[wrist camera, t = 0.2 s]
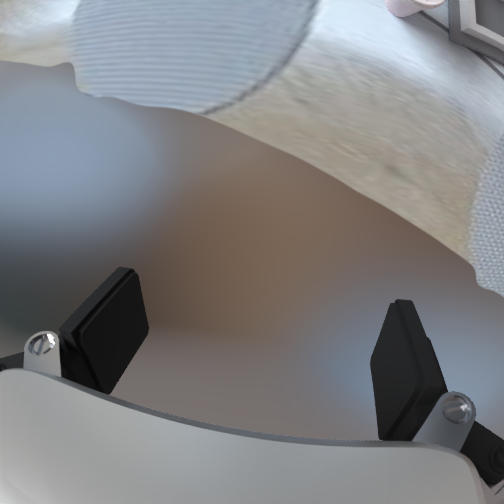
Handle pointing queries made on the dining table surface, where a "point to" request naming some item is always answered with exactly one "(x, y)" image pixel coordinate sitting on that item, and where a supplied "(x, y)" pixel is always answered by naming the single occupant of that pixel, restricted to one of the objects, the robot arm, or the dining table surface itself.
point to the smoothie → (410, 6)
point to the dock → (478, 26)
